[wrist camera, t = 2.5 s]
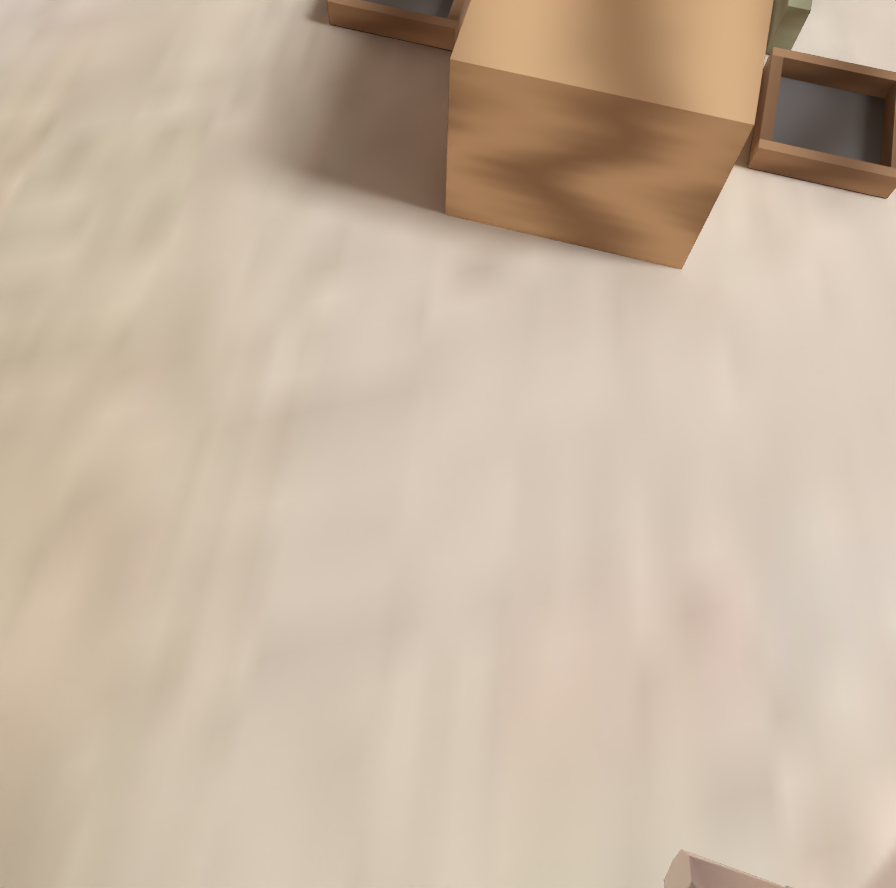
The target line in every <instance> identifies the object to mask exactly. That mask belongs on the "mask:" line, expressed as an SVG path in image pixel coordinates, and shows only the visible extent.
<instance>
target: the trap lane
mask: <svg viewBox="0 0 896 888" xmlns="http://www.w3.org/2000/svg"><path fill="white" fill-rule="evenodd" d="M470 2H471V0H327V5H328V13H329V21H330V24H332V25H336V26H341V27H345V28H350V29H355V30H359V31H364V32H369V33H373V34H378V35H382V36H387V37H392V38H396V39H401V40H405V41H410V42H415V43H419V44H424V45H428V46H433V47H438V48H442V49H447V50H451V51H453V49H454V46H455V43H456V41H457V38H458V35H459V32H460V29H461V27H462V24H463V21H464V18H465V16H466V13H467V10H468V7H469V5H470ZM811 5H812V0H774V2H773V9H772V15H771V22H770V28H769V34H768V41H767V47H766V54H770V55H769V57H768V60H767V62H766V64H765V66H764V68H763V73H762V79H761V86H760V92H759V99H758V105H757V112H756V118H755V124H754V131H753V137H752V144H751V150H750V157H749V163H748V168H752V169H757V170H761V171H766V172H770V173H775V174H779V175H784V176H788V177H793V178H797V179H802V180H806V181H811V182H815V183H820V184H824V185H829V186H833V187H838V188H842V189H847V190H851V191H856V192H860V193H865V194H869V195H874V196H878V197H883V198H888V197H889V196H890V194H891V193H892V192H893V191H894V189H895V188H896V72H891V71H887V70H882V69H877V68H872V67H867V66H863V65H858V64H853V63H848V62H844V61H839V60H834V59H829V58H825V57H820V56H815V55H810V54H806V53H801V52H796V51H791V49H792V47H793V45H794V43H795V41H796V39H797V37H798V35H799V33H800V31H801V29H802V27H803V25H804V23H805V21H806V19H807V17H808V15H809V13H810V11H811Z"/></svg>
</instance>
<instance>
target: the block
mask: <svg viewBox="0 0 896 888" xmlns="http://www.w3.org/2000/svg"><path fill="white" fill-rule="evenodd" d="M772 7H773V0H471V2H470V5H469V7H468V10H467V13H466V16H465V18H464V21H463V24H462V27H461V29H460V32H459V35H458V38H457V41H456V43H455V46H454V49H453V52H452V54H451V57H450V71H449V104H448V138H447V171H446V204H445V214H446V215H450V216H455V217H459V218H463V219H467V220H472V221H476V222H480V223H485V224H489V225H493V226H497V227H502V228H506V229H510V230H515V231H519V232H523V233H528V234H532V235H536V236H540V237H545V238H549V239H553V240H558V241H562V242H566V243H571V244H575V245H579V246H583V247H588V248H592V249H596V250H601V251H605V252H609V253H613V254H618V255H622V256H626V257H631V258H635V259H639V260H644V261H648V262H652V263H656V264H661V265H665V266H669V267H674V268H678V269H682V267H683V265H684V263H685V261H686V259H687V257H688V255H689V253H690V251H691V249H692V247H693V246H694V244H695V242H696V240H697V238H698V236H699V234H700V232H701V230H702V228H703V226H704V224H705V222H706V220H707V218H708V216H709V214H710V212H711V210H712V208H713V206H714V204H715V202H716V200H717V198H718V196H719V194H720V192H721V190H722V188H723V186H724V184H725V182H726V180H727V178H728V176H729V174H730V172H731V170H732V168H733V166H734V164H735V162H736V160H737V158H738V156H739V154H740V152H741V150H742V148H743V146H744V144H745V142H746V140H747V138H748V136H749V134H750V132H751V130H752V128H753V126H754V124H755V117H756V111H757V104H758V98H759V91H760V85H761V78H762V72H763V65H764V59H765V52H766V46H767V39H768V33H769V26H770V20H771V13H772Z"/></svg>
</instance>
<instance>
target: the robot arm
mask: <svg viewBox="0 0 896 888" xmlns="http://www.w3.org/2000/svg"><path fill="white" fill-rule="evenodd" d="M664 888H792V887H789V886H785V887H783V886H781V885H779V884H776V883H773V882H770V881H768V880H765V879H762V878H759V877H757V876H754V875H751V874H748V873H745V872H743V871H740V870H737V869H734V868H732V867H729V866H726V865H723V864H721V863H718V862H715V861H712V860H709V859H707V858H704V857H701V856H698V855H696V854H693V853H690V852H687V851H684V850H682V849H681V850H680V852H679V853H678V854H677V855H676V857H675V858H674V859H673V861H672V863H671V866H670V868H669V870H668V872H667V874H666V877H665V879H664Z"/></svg>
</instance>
